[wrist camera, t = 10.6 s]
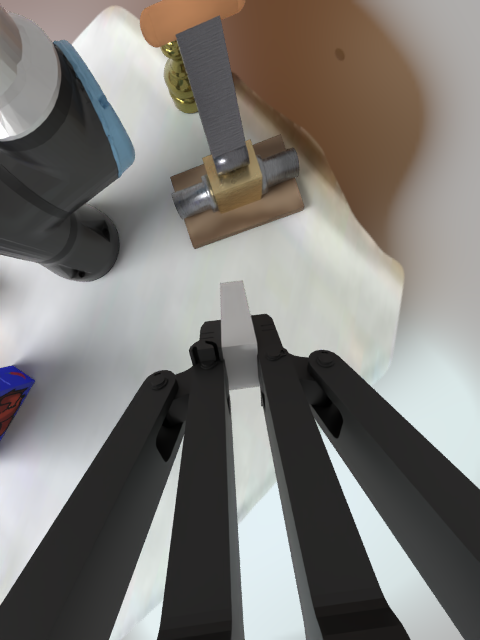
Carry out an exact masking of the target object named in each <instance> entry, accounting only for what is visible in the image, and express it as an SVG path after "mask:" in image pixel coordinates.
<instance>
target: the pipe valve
mask: <svg viewBox="0 0 480 640" xmlns="http://www.w3.org/2000/svg"><path fill="white" fill-rule="evenodd" d="M245 143H246V147H247V150H248V154H249V160H250V164H249V165H246V166H244V167H241V168H239V169H236V170H233V171H231V172H228V173H225V174H223V175H220V176H218V174H217V171H216V168H215V165H214V161H213V158H212V154H211V155H209V156H206V157H204V158H202V159H203V162H204V164H203V165H200V166H197V167H195V168H192V169H190V170H187V171H185V172H182V173H179V174H177V175H174V176H172V177H170V178H171V181H172V184H173V187H174V190H175V193H172V198H173V201H174V204H175V206H176V209H177V211H178V213H179V215H180V217H181V218H182V219H184V221H185V224H186V227H187V230H188V233H189V236H190V239H191V242H192V245H193V247H194V248H195V249H196V248H199V247H202V246H205V245H207V244H210V243H213V242H216V241H219V240H221V239H224V238H227V237H230V236H233V235H235V234H238V233H241V232H244V231H247V230H249V229H252V228H255V227H258V226H260V225H263V224H266V223H269V222H272V221H274V220H277V219H280V218H283V217H286V216H288V215H291V214H294V213H297V212H300V211H302V210H303V208H304V204H303V201H302V198H301V195H300V192H299V189H298V186H297V183H296V180H295V177H297V176H298V174H299V161H298V156H297V153H296V151H295V149H294V148H290V149H287V150H286V149H285V146H284V143H283V140H282V137H281V134H280V135H278V136H275V137H272V138H270V139H267V140H265V141H262V142H259V143H257V144H254V145H252V143H251V140H247V141H245Z"/></svg>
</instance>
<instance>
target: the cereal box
mask: <svg viewBox="0 0 480 640" xmlns="http://www.w3.org/2000/svg"><path fill="white" fill-rule="evenodd" d="M34 382H35V380H33V379H32V378H30V377H29V376H28V375H26V374H25V373H23V372H22V371H20V370H19V369H17V368H16V367H14V366H13V365H12V366H8V367H3V368H0V440H1V439H2V437H3V435H4V434H5V432H6V430H7V428H8V427H9V425H10V423H11V422H12V420H13V418H14V416H15V415H16V413H17V411H18V410H19V408H20V406H21V404H22V403H23V401H24V399H25V398H26V396H27V394H28V392H29V391H30V389H31V387H32V385H33V384H34Z"/></svg>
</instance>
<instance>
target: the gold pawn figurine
mask: <svg viewBox="0 0 480 640" xmlns="http://www.w3.org/2000/svg"><path fill="white" fill-rule="evenodd" d="M160 49H161V51H162V53H163V54H164V55H165V56H166V57H168V58H169V59H168V60H167V62H166V64H165V68H164V80H165V83H166V85H167V87H168V89H169V93H170V95H171V97H172V100H173V102H174V104H175V106H176V107H177V108H178V109H179V110H180V111H182V112H184V113H195V112H197V111H198V109H197V105H196V102H195V99H194V95H193V92H192V89H191V86H190V82H189V79H188V76H187V72H186V69H185V66H184V63H183V59H182V56H181V53H180V49H179V46H178V43H177V40H175V41H172V42H170V43H168V44H165V45H163V46H161V47H160Z"/></svg>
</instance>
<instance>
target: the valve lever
mask: <svg viewBox="0 0 480 640" xmlns="http://www.w3.org/2000/svg"><path fill="white" fill-rule="evenodd" d="M244 4H245V0H162V1H160V2H158V3H156V4H153V5H151V6H149V7H147V8H145V9H144V10H143V11H142V13H141V17H140V27H141V31H142V34H143V36H144V38H145V40H146V41H147V42H148V43H149V44H150V45H151V46H153V47H161V46H163V45H165V44H168V43H170V42H172V41H175V40H177V43H178V46H179V49H180V53H181V56H182V59H183V63H184V66H185V69H186V72H187V76H188V79H189V82H190V86H191V89H192V92H193V95H194V99H195V102H196V105H197V109H198V112H199V115H200V118H201V122H202V125H203V128H204V131H205V135H206V138H207V141H208V145H209V148H210V151H211V154H212V158H213V161H214V165H215V168H216V171H217V174H218V176H220V175H223V174H225V173H228V172H231V171H233V170H236V169H239V168H241V167H244V166H246V165H249V164H250V160H249V154H248V150H247V147H246V143H245V138H244V133H243V128H242V123H241V118H240V113H239V108H238V103H237V98H236V93H235V88H234V83H233V78H232V73H231V69H230V63H229V58H228V54H227V49H226V44H225V39H224V34H223V29H222V24H221V20H223V19H225V18H227V17H230V16H232V15H234V14H236V13H238V12H240V11H241V10H242V8H243V6H244Z"/></svg>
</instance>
